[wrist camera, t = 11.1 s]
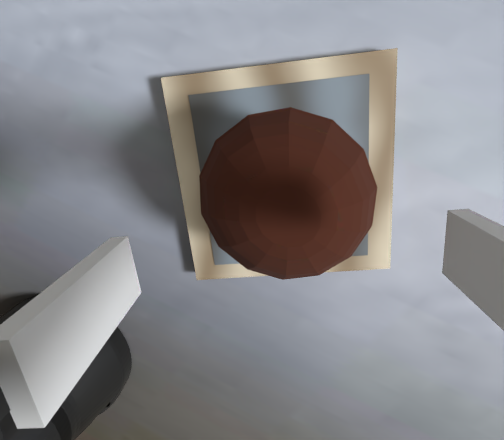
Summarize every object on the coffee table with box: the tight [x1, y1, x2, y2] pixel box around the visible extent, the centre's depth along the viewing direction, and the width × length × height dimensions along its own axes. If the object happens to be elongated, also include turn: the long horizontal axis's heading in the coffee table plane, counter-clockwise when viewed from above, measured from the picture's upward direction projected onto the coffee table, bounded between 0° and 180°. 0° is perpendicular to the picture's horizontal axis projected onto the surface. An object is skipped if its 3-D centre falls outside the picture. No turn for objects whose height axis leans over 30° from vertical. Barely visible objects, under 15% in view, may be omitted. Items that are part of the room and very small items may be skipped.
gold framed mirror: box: [161, 48, 397, 280], centre depth 28 cm, size 18×18×2 cm
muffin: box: [199, 107, 378, 279], centre depth 23 cm, size 12×11×10 cm
